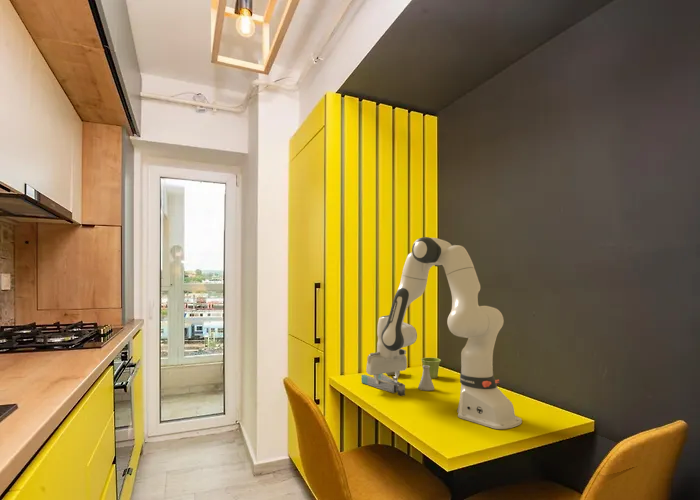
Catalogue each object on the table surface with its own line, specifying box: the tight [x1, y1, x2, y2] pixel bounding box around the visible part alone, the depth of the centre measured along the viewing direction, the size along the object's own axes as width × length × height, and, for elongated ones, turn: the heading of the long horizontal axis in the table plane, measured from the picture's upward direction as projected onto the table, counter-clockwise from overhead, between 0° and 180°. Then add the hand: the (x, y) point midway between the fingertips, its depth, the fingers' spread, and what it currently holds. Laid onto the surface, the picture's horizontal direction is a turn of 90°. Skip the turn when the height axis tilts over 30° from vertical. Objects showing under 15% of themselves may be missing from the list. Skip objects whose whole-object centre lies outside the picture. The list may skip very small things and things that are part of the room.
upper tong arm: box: [361, 374, 397, 394], centre depth 175 cm, size 21×2×4 cm, turn 39°
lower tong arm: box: [378, 373, 401, 392], centre depth 178 cm, size 21×2×4 cm, turn 23°
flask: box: [417, 365, 435, 392], centre depth 174 cm, size 7×7×10 cm
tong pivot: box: [396, 382, 406, 397], centre depth 165 cm, size 3×3×5 cm
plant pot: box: [421, 357, 442, 380], centre depth 194 cm, size 9×9×9 cm
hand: (386, 382), depth 174 cm, fingers open, 8 cm apart
